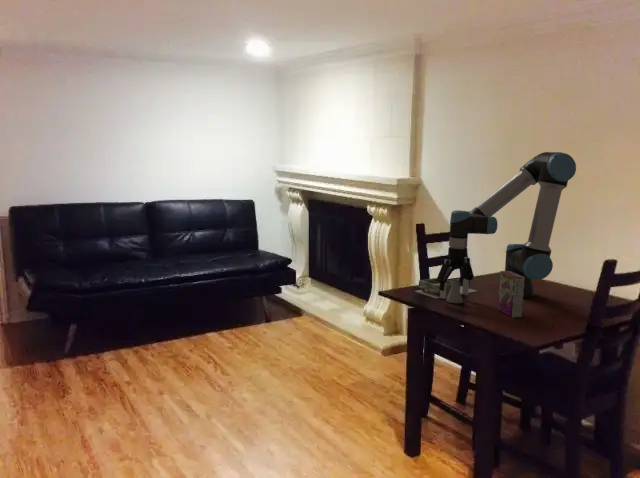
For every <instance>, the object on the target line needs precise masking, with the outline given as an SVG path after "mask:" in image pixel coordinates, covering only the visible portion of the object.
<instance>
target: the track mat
mask: <svg viewBox="0 0 640 478" xmlns="http://www.w3.org/2000/svg"><path fill="white" fill-rule="evenodd" d="M462 290H463V285H460V293H461V296H462V295H463V294H462ZM414 293H417V294H420V295H423V296H427V297H430V298H432V299H435V300H436V299H437V300H438V299H442V298H441V297H440V296H438V295H437V293H435V292H432V291H429V290H426V289H425V291H423V290H421V289H418V290H414ZM473 293H478V290H476V289H472V288H469V290H468V294H473ZM448 294H449V292H446V298H447V297H448Z"/></svg>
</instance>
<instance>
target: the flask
mask: <svg viewBox="0 0 640 478" xmlns="http://www.w3.org/2000/svg"><path fill="white" fill-rule="evenodd" d="M451 281H452V287H451V290H450V292H449V294H448V297H446V299H445V302H447V303H450V304H462V303H463V302H464V300H463V297H462V295H461V293H460V290H459V283H460V278H455V277H454V278H452V279H451Z"/></svg>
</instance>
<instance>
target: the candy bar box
mask: <svg viewBox="0 0 640 478" xmlns="http://www.w3.org/2000/svg"><path fill="white" fill-rule="evenodd" d="M524 283H525V277H523V276H521V275H518V274H516V273H514V272H511V271H505V270H502V271H499V285H498V299H497V301H498V302H497V310H498V311H499V312H501V313H502V314H503V315H507V316H508V317H509V318H512V319H516V318H517V319H518V317H519V318H523V308H524V307H523V306H524V298H523V297H524Z"/></svg>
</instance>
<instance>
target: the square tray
mask: <svg viewBox="0 0 640 478" xmlns="http://www.w3.org/2000/svg"><path fill="white" fill-rule="evenodd" d="M436 279H437V277H434V278H426V279H420V280H418V288H419V289H420V290H423V291H425V289H426V290H429V291H432V292H435V293H437V295H438V296H440V282H438V281H436ZM445 283H447V287H446V292H450V290H451V287H452V279H451V280H450V279H447V281H446V282H445ZM460 286H461V283H460V282H459V290H460Z"/></svg>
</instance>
